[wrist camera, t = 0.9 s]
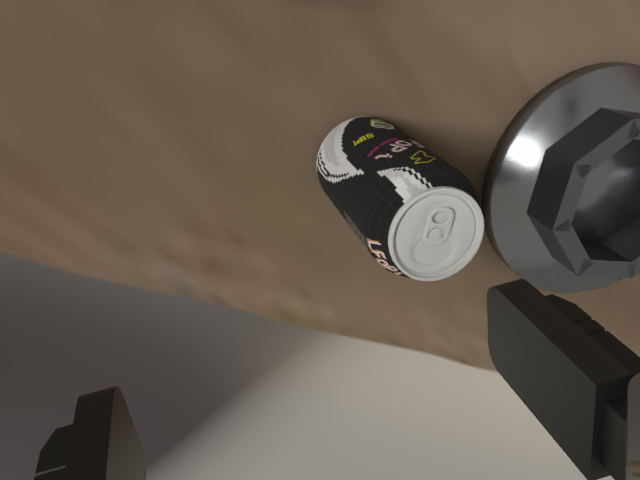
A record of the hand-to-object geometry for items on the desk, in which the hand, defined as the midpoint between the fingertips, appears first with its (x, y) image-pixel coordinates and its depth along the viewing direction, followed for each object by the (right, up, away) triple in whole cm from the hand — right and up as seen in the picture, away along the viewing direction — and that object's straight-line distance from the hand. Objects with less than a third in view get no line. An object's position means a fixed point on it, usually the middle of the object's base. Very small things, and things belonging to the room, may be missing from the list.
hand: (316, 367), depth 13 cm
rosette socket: (+19, +7, +30) cm, 36 cm away
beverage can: (+2, +8, +25) cm, 26 cm away
